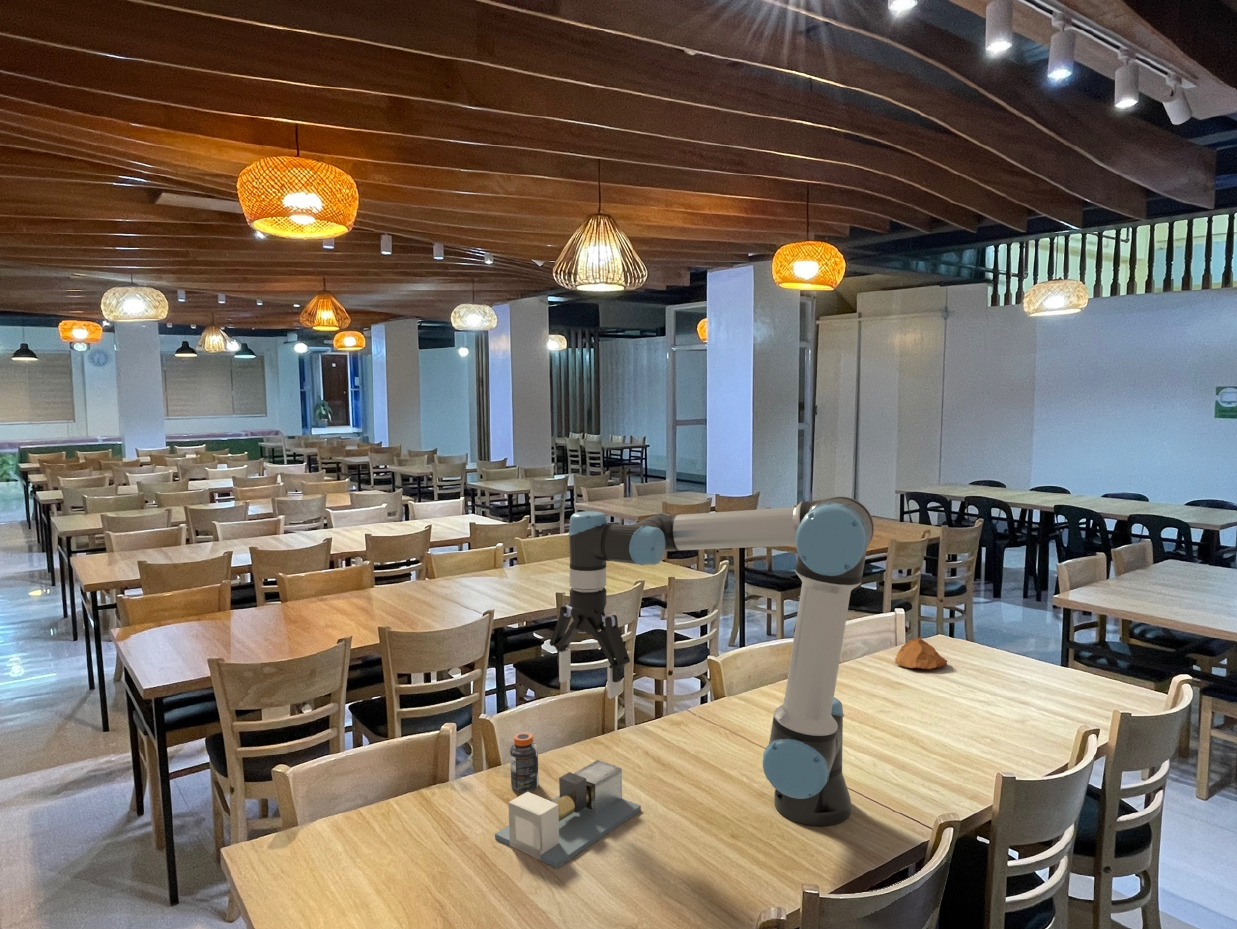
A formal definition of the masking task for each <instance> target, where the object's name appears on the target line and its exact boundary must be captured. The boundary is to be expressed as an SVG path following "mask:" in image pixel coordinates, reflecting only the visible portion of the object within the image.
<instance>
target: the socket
mask: <svg viewBox="0 0 1237 929" xmlns="http://www.w3.org/2000/svg"><path fill="white" fill-rule="evenodd" d="M508 826H509V837H510V846H509V847H511V848H514V849H515V850H518V851H520V852H522V853H525V854H526V855H528V856H530V857H532V858H535V859H536V860H538V861H540V862H542V861H541V857H540V855H542V854H543V853H545V852H546V851H548V850H549V849H551V848H552V847H554V846H555V845H557V844H558V843H559V812H558V804H556V803H554V802H551V800H548V799H546V798H544V797H541V796H539V795H537V794H534V793H531V791H529V792H523V793H522V794H520V795H519V796H517V797H516V798H513V799H512V800H509V801H508ZM512 844H514V845H512ZM516 844H517V845H516ZM532 852H533V853H532ZM536 855H538V856H537V857H536Z"/></svg>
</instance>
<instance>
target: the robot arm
mask: <svg viewBox="0 0 1237 929" xmlns="http://www.w3.org/2000/svg"><path fill="white" fill-rule="evenodd" d="M607 521H608V520H607V515H606V513H604V512H601V511H594V510H591V511H589V510H588V511H577V512H575V513H573V514H572V515H571V516H570V519H569V528H568V529H569V532H568V537H569V539H568V540H569V587H571V588H570V589H569V604H566V605H563V606H560V608H559V609H560V610H559V617H558V619H557V622H556V624H555V627H554V630H553V632H552V635H551V638H550V640H549V645H550V646H551V647H554V648H555V650H556V651H557V652H556V657H557V658H556V659H557V660H556V663H557V665H558V679H559V680H558V682H559V683H561V684H562V683H565V682H567V681H570V680H571V676H572V675H571V674H572V673H571V670H572V669H571V663H572V662H571V657H572V656H571V652H572V651H571V648H569V647H570V645H571V643H572V642H573V640H574V639H575V638H576V636H577V635H578V634H579V633H586V634H588V635H592V637H593V638H594V639H595V640H596V641H597V643H598V644H599V646H600V648H601V650H602V652H603V654H604V655H605V657H606V659H607V660H608V662H609V664H610V665H608V666H607V668H606V669H607V672H606V673H607V682H606V683H607V692H606V693H607V699H611V700H612V699H614V698H615V697H617V696H619V695H620V682H621V681H622V666H624V665H626V664H627V665H628V664H630V662H631V659H630V656H629V654H628V650H627V648H626V645H625V642H624V640H623V639H624V638H623V636H622V634H621V630H620V628H619V624H618V616H617V615H616V614H612V615H606V614H605V613H606V612H605V608H606V606H607V588H606V586H607V562H613V563H614V562H615V563H624V564H633V565H634V564H635V565H639V566H646V565H647V566H648V565H650V566H651V565H652V566H656V565H658V564H660V563H661V562H662V560H663V558H664V555H665V552H676V551H677V552H678V551H695V550H699V551H700V550H714V549H715V550H717V549H719V550H721V549H740V548H741V549H743V548H744V549H745V548H763V547H765V548H768V547H769V548H771V547H789V546H790V547H791V546H793V547H794V546H795V547H796V550H797V556H796V562H795V563H796V565H795V570H794V571H795V574H796V575H797V576H798V577H799V579H800V580H801V582H802V583H801V588H800V594H799V601H798V608H797V614H796V616H797V617H796V621H795V628H794V634H793V641H792V648H791V655H790V660H789V666H788V667H789V668H788V675H787V679H786V680H787V681H786V688H785V693H784V698H783V704H781V705H780V706H778V707H776V708H775V709H774V712H773V717H772V723H771V729H770V737H769V742H768V745H767V746H766V748H765V749H764V750H763V754H762V755H763V756H762V768H763V773H764V776H765V777H766V780H767V781H768V782H769V783H770V784H771V786H772V787H773V788H774V789H775V790H774V793H773V794H774V798H773V800H774V807H775V810H777V812H778V813H779V815H782V816H783V817H785V818H786V819H789V820H790V821H793V822H795V823H798V824H803V825H807V826H817V827H818V826H819V827H823V826H824V827H825V826H832V825H837V824H839V823H842V822H844V821H846V820H847V819H848V818H849V817H850V816H851V812H852V800H851V795H850V792H849V789H848V786H847V784H846V780H845V777H844V772H843V738H844V737H843V735H844V734H843V727H844V723H843V722H844V719H843V717H845V714H844V710H843V707H844V706H843V703H842V702H841V700H839V699H838V698H836V697H835V691H836V685H837V679H838V673H839V667H840V660H841V655H842V649H843V648H842V647H843V642H844V636H845V629H846V622H847V617H848V611H849V604H850V599H851V598H850V597H851V594H852V593H851V592H852V590H854V589H855V588H857V587H859V586H860V585H861V584H862V582H863V580H862V579H863V574H864V568H865V562H866V555H867V551H868V547H869V546H870V544H871V542H872V540H873V536H874V532H875V525H874V523H875V522H874V521H873V517H872V515H871V513H870V511H869V509H867V507H866V506H865V505H864V504H863V503H861V502H860V501H858V500H857V499H855V498H852V497H848V496H833V497H828V498H823V499H817V500H806V501H800V502H799V503H798V504H797V506H795V507H794V506H793V507H792V506H791V507H779V508H764V509H762V508H761V509H748V510H734V511H733V510H731V511H719V512H715V511H714V512H702V513H685V514H683V513H682V514H676V515H675V514H673V515H672V514H671V515H670V514H668V513H657V514H653V515H651V516H649V517H647V518H645V519H643V520H641V521H640V520H639V521H638V522H634V523H633V524H617V523H616V524H615V523H614V524H613V523H608V522H607ZM571 619H572V622H570V621H571ZM569 624H570V625H569Z"/></svg>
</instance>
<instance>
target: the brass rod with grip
mask: <svg viewBox="0 0 1237 929" xmlns="http://www.w3.org/2000/svg"><path fill="white" fill-rule="evenodd" d="M558 779H559V780H558V782H559V783H558V785H559V786H558V787H559V796H560V798H559V799H558V800H556V801H554V803H556V804H558V812H559V821H561V820H563V819H564V818H566V817H567V816H569V815H571V814H572V813H574V812H575V813H577V812H579V811H581V810H582V809H584V808H585V807H587V804H588V803H590V802H591V801H592V799H591V787H590V786H587V785H586V778H584V777H581V776H578V775H576V774H574V773H573V772H567V773H565V774H562V776H559V778H558Z"/></svg>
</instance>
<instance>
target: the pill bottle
mask: <svg viewBox="0 0 1237 929" xmlns="http://www.w3.org/2000/svg"><path fill="white" fill-rule="evenodd" d="M513 740H514V741H513V744H512V746H510V750H509V752H510V753H509V761H510V763H509V764H510V786H511V789H512V790H513V791H515V792H518V793H526V792H532V791H535V790H536V789H537V788H538V786H539V785H540V784H539V781H540V780H539V753H538V752H539V751H538V746H537V744H536V743H534V736H533V734H532V733H530V732H520V733H517V734H515V735H514V736H513Z"/></svg>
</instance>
